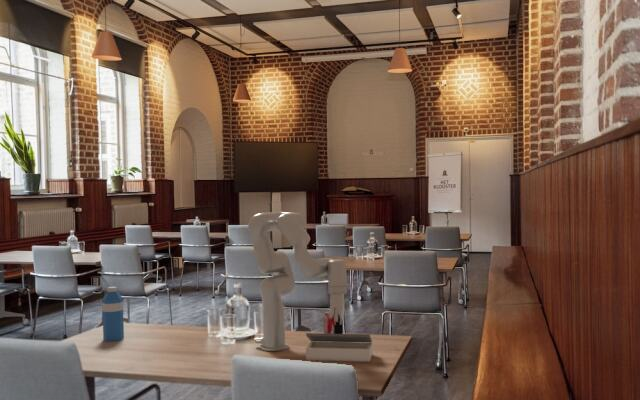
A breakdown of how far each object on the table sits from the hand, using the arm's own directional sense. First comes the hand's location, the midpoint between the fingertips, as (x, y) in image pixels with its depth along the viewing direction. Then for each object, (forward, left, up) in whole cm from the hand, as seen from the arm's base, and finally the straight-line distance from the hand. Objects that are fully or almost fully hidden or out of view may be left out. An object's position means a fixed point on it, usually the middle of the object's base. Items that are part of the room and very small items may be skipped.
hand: (338, 334), depth 258 cm
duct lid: (0, +2, -3) cm, 4 cm away
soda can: (-9, +37, -10) cm, 39 cm away
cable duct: (0, +2, -10) cm, 10 cm away
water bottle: (-113, +25, -10) cm, 116 cm away
